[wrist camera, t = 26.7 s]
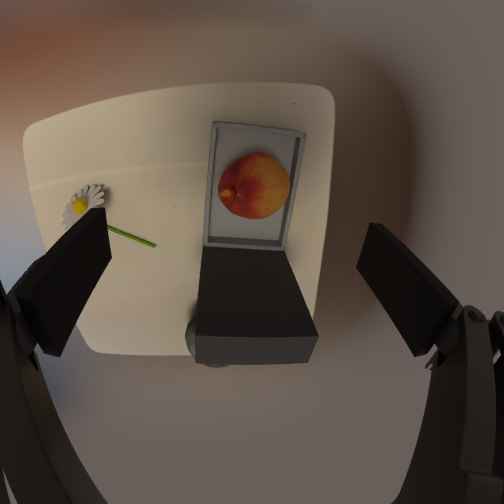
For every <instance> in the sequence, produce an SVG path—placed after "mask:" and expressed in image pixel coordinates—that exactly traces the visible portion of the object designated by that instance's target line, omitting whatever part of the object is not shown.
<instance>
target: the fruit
mask: <svg viewBox="0 0 504 504" xmlns="http://www.w3.org/2000/svg"><path fill="white" fill-rule="evenodd" d="M289 191H290V179H289V176H288V173H287V172H286V170H285V168H284V167H283V166H282V165H281V164H280V163H279V162H278V161H277V160H276V159H275V158H274V157H272V156H270V155H268V154H265V153H262V152H256V153H251V154H249V155H246V156H243V157H241V158H239V159H237V160H236V161H234V162H233V163H232V164H231V165H229V166H228V167H227V168H226V169H225V171H224V172H223V174H222V176H221V179H220V181H219V184H218V196H219V198H220V200H221V202H222V203H223V205H224V206H225V207H226V208H227V209H228V210H229V211H230V212H231V213H233V214H235V215H237V216H240V217H244V218H247V219H264V218H266V217H268V216H270V215H272V214H273V213H275V212H276V211H278V210H279V209H280V208H281V207H282V206H283V205H284V204H285V202H286V200H287V198H288V195H289Z"/></svg>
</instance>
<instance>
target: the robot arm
mask: <svg viewBox="0 0 504 504" xmlns="http://www.w3.org/2000/svg"><path fill="white" fill-rule="evenodd" d="M111 258H112V256H111V249H110V243H109V236H108V228H107V220H106V211H105V207H98V208H91V209H89V210H88V211H87V212H86V213H85V214H84V215H83V216H82V217H81V218H80V219H79V220H78V221H77V222H76V223H75V224H74V225H73V226H72V227H71V228H70V229H69V230H68V231H67V232H66V233H65V234H64V235H63V236H62V237H61V238H60V239H59V240H58V241H57V242H56V243H55V244H54V245H53V246H52V247H51V248H50V249H49V250H48V252H47V253H46V254H45V255H43V256H42V257H40V258H39V259H37V260H36V261H34V262H33V263H32V265H31V266H30V267H29V268H28V270H27V271H26V272H25V273H24V274H23V275H22V277H21V278H20V279H19V280H18V281H17V282H16V284H15V285H14V286H13V287H12V289H11V290H10V291H9V292H8V294H7V295H6V293H5V290H4V288H3V285H2V283H1V280H0V504H10V500H9V496H8V492H7V488H6V484H5V479H4V475H3V470H4V472H5V475H6V478H7V480H8V483H9V485H10V488H11V490H12V492H13V494H14V497H15V499H16V501H17V503H18V504H107V502H106V500H105V499H104V498H103V496H102V495H101V493H100V492H99V491H98V489H97V487H96V486H95V484H94V483H93V481H92V480H91V478H90V477H89V475H88V473H87V471H86V470H85V468H84V466H83V465H82V463H81V461H80V459H79V458H78V456H77V454H76V452H75V450H74V448H73V446H72V444H71V442H70V440H69V438H68V436H67V434H66V432H65V430H64V428H63V425H62V423H61V421H60V419H59V417H58V414H57V412H56V409H55V407H54V404H53V402H52V399H51V397H50V394H49V391H48V388H47V385H46V382H45V379H44V376H43V373H42V370H41V367H40V363H39V360H38V357H37V354H36V353H35V351H34V348H35V346H36V344H37V342H38V344H39V346H40V347H41V349H42V351H43V353H44V354H48V355H52V356H56V357H60V356H61V354H62V352H63V349H64V347H65V345H66V343H67V341H68V338H69V336H70V334H71V332H72V330H73V328H74V326H75V324H76V322H77V320H78V318H79V316H80V314H81V312H82V310H83V308H84V306H85V304H86V302H87V300H88V299H89V297H90V295H91V293H92V291H93V289H94V288H95V286H96V284H97V282H98V281H99V279H100V277H101V275H102V274H103V272H104V270H105V268H106V267H107V265H108V263H109V262H110V260H111ZM356 268H357V270H358V271H359V272H360V274H361V275H362V277H363V278H364V279H365V281H366V282H367V284H368V285H369V287H370V288H371V290H372V291H373V293H374V294H375V296H376V297H377V298H378V300H379V301H380V303H381V304H382V306H383V308H384V309H385V310H386V312H387V313H388V315H389V317H390V318H391V319H392V321H393V323H394V324H395V326H396V328H397V329H398V331H399V332H400V334H401V336H402V337H403V339H404V340H405V342H406V344H407V345H408V347H409V348H410V350H411V352H412V354H413V355H414V357H417V356H421V355H425V354H427V353H428V352H429V350H430V349H431V348H432V346H433V345H434V343H435V345H436V346H437V348H438V349H437V350H436V352H435V353H434V355H433V356H432V357H431V359H430V360H429V362H428V363H427V364H426V366H425V368H428V366H429V365H430V364H433V366H432V367H431V368H430V370H431V371H432V372H431V380H430V386H429V392H428V397H427V402H426V407H425V412H424V416H423V421H422V425H421V429H420V433H419V436H418V440H417V444H416V447H415V451H414V454H413V457H412V460H411V463H410V466H409V469H408V472H407V475H406V477H405V480H404V483H403V485H402V488H401V490H400V493H399V495H398V497H397V498H396V499H395V500H394V502H392V503H391V504H504V312H500V311H497V312H495V314H494V315H493V317H492V319H491V320H487V319H486V318H485V316H484V315H483V313H482V312H481V311H480V310H478V309H477V308H475V307H473V306H470V305H467V306H465V307H462V305H461V304H460V303H459V301H458V300H457V299H456V298H455V296H454V295H453V294H452V293H451V292H450V291H449V290H448V289H447V288H446V286H445V285H444V284H443V283H442V282H441V281H440V280H439V279H438V278H437V277H436V276H435V275H434V274H433V273H432V272H431V271H430V270H429V269H428V268H427V267H426V266H425V264H423V263H422V261H420V260H419V258H417V257H416V256H415V255H414V254H413V253H412V252H411V251H410V250H409V249H408V248H407V247H406V246H405V245H404V244H403V243H402V242H401V241H400V240H399V239H398V238H396V237H395V236H394V235H393V234H392V233H391V232H390V231H389V230H388V229H387V228H386V227H384V226H383V225H382V224H378V223H370V224H369V227H368V231H367V234H366V238H365V241H364V244H363V248H362V251H361V254H360V257H359V260H358V263H357V266H356ZM499 350H500V353H501V356H500V357H499V359H498V360H497V361H496V362H495V364H493V358H494V356H495V355H496V354H497V352H498V351H499ZM2 467H3V469H2Z"/></svg>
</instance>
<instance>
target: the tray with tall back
mask: <svg viewBox="0 0 504 504" xmlns="http://www.w3.org/2000/svg"><path fill="white" fill-rule="evenodd" d="M305 137H306V134H305V133H302V132H298V131H292V130H285V129H279V128H272V127H264V126H256V125H248V124H238V123H227V122H212V131H211V141H210V152H209V163H208V175H207V187H206V201H205V217H204V235H203V251H202V260H201V269H200V279H199V290H198V301H197V314H196V326H195V361H196V363H200V364H228V365H257V364H258V365H260V364H261V365H263V364H264V365H265V364H293V363H307V362H308V361H309V359H310V356H311V354H312V352H313V349H314V347H315V344H316V342H317V339H318V337H319V336H318V333H317V331H316V328H315V325H314V323H313V320H312V318H311V316H310V313H309V310H308V308H307V305H306V303H305V300H304V298H303V295H302V293H301V290H300V288H299V286H298V283H297V281H296V278H295V276H294V273H293V271H292V268H291V266H290V264H289V261H288V259H287V256H286V254H285V252H284V251H285V246H286V241H287V236H288V231H289V226H290V221H291V216H292V210H293V205H294V200H295V194H296V189H297V183H298V178H299V172H300V166H301V161H302V155H303V149H304V143H305ZM256 152H262V153H265V154H268V155H270V156H272V157H274V158H275V159H276V160H277V161H278V162H279V163H280V164H281V165H282V166H283V167H284V168H285V170H286V172H287V173H288V176H289V179H290V191H289V195H288V198H287V200H286V202H285V204H284V205H283V206H282V207H281V208H280V209H279V210H278V211H276V212H275V213H273V214H272V215H270V216H268V217H266V218H264V219H247V218H244V217H240V216H237V215H235V214H233V213H231V212H230V211H229V210H228V209H227V208H226V207H225V206H224V205H223V203H222V202H221V200H220V198H219V196H218V184H219V181H220V179H221V176H222V174H223V172H224V171H225V169H226V168H227V167H228V166H229V165H231V164H232V163H233V162H234V161H236V160H237V159H239V158H241V157H243V156H246V155H249V154H251V153H256Z"/></svg>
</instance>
